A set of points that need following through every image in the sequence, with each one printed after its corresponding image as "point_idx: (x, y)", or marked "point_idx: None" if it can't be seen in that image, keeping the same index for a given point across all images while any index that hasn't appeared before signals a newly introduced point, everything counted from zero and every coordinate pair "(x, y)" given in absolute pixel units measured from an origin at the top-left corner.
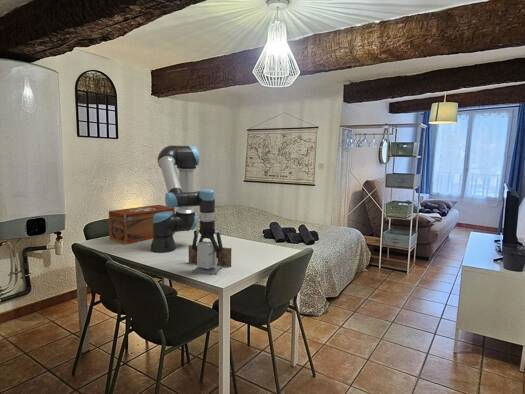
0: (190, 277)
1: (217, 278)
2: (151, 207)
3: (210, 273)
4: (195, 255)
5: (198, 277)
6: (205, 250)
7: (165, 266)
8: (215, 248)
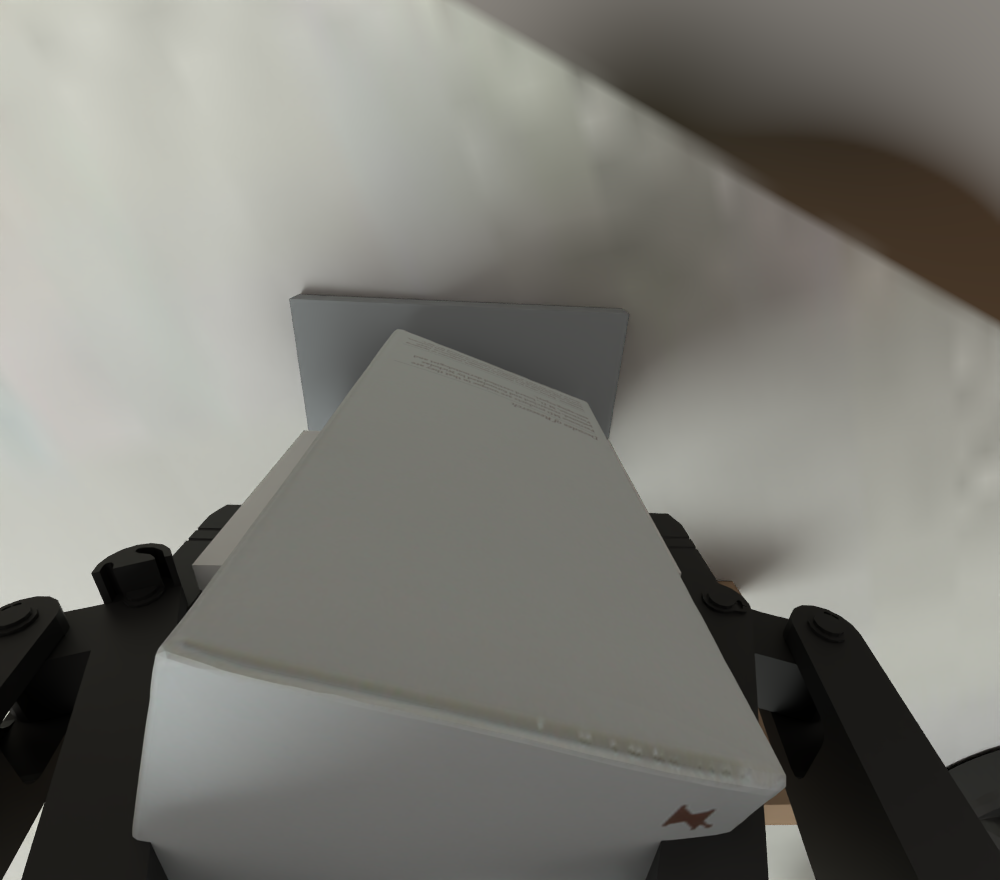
0: (604, 108)
1: (197, 155)
2: None
3: (364, 299)
4: (677, 524)
5: (486, 135)
6: (395, 498)
7: (988, 445)
8: (139, 656)
